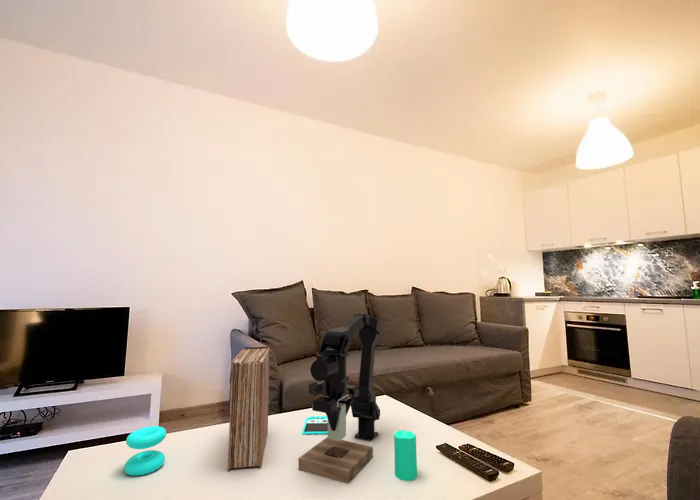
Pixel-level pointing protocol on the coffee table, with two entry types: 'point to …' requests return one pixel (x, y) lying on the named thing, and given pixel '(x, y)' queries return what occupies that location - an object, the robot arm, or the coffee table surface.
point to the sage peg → (339, 425)
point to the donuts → (146, 459)
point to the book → (249, 407)
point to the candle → (405, 455)
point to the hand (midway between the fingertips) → (337, 427)
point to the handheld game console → (316, 426)
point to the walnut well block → (336, 459)
